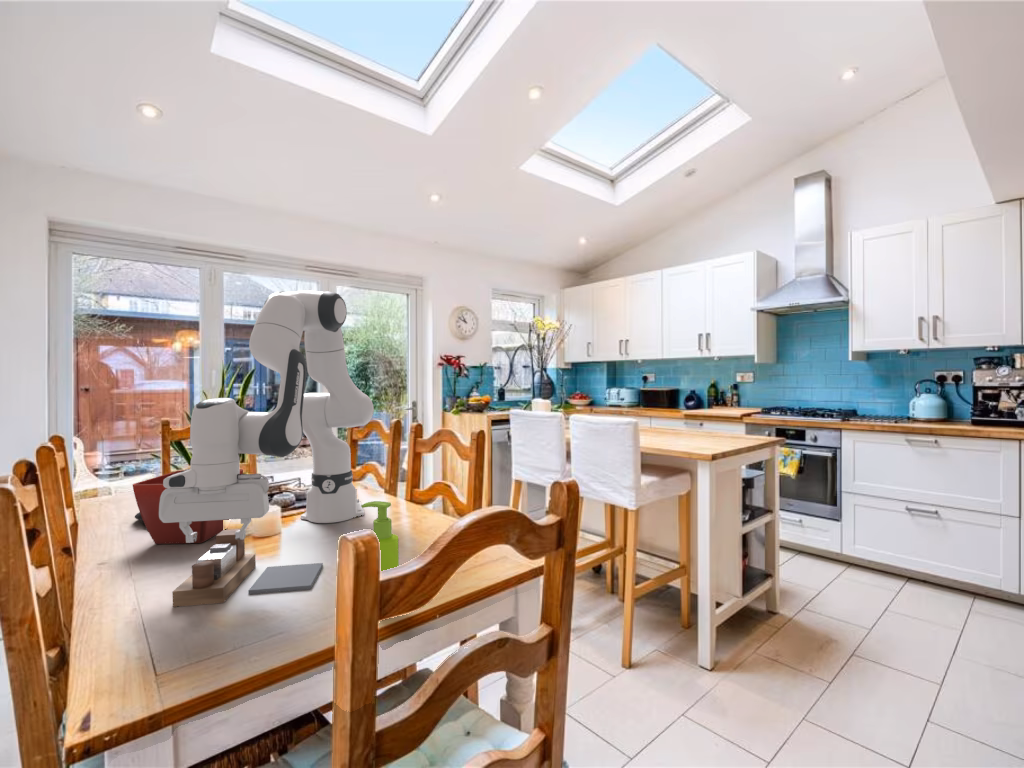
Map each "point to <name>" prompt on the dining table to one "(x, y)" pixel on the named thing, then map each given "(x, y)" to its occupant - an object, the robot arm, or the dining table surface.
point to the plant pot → (168, 532)
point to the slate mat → (286, 578)
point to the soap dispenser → (385, 535)
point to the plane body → (215, 576)
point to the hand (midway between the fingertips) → (216, 540)
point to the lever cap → (220, 558)
